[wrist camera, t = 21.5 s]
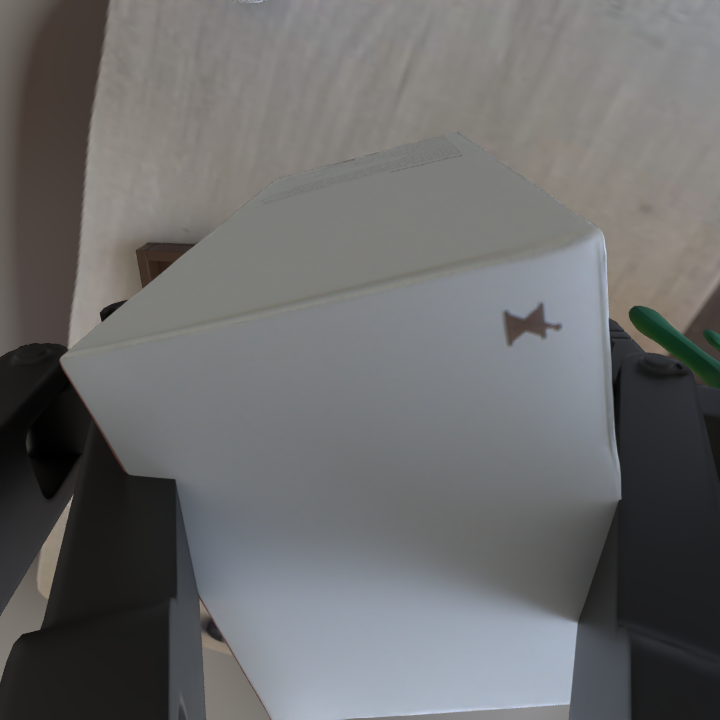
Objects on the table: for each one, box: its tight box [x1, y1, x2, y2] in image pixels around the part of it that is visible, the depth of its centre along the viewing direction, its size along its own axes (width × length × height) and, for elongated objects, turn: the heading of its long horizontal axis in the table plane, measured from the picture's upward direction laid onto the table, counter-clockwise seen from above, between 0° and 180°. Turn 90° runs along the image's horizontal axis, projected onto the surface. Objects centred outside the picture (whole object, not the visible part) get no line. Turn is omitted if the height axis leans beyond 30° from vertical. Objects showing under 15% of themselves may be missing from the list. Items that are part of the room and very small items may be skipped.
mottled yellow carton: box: [629, 306, 720, 388], centre depth 28 cm, size 18×12×24 cm
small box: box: [59, 132, 622, 720], centre depth 13 cm, size 8×6×13 cm
